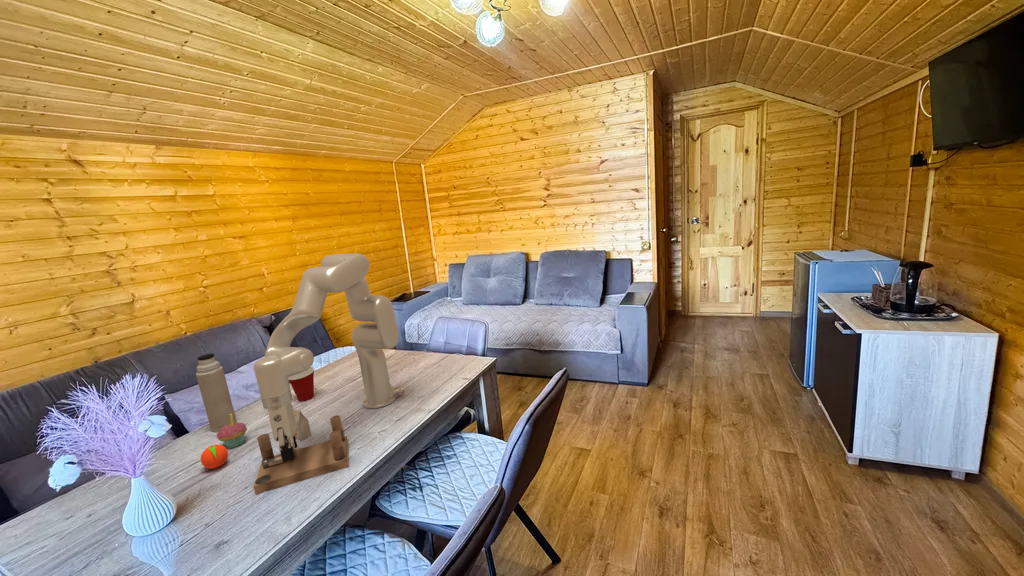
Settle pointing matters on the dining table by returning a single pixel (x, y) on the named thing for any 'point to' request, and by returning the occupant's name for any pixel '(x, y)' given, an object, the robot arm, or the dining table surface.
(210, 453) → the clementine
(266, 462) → the stool leg
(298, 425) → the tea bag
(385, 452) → the dining table surface
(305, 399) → the plastic cup
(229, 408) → the thermos bottle
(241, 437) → the cupcake
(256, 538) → the dining table surface
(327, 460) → the stool seat
